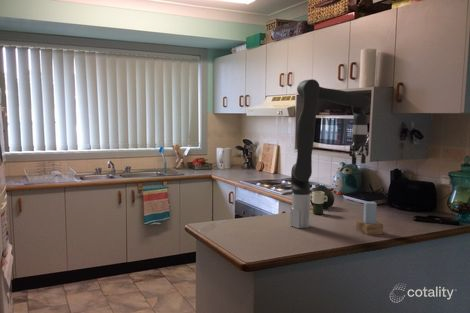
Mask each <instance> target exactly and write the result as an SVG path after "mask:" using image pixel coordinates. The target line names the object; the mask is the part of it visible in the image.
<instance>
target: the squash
mask: <svg viewBox="0 0 470 313" xmlns="http://www.w3.org/2000/svg"><path fill="white" fill-rule="evenodd" d="M314 191H322V192H324V193H325V195H324V196H327V201H324V203H322V205H323V210H328V209H330V208H331V207H332V206H334V204H335V195H334V192H332V190H330V189H329V188H328V187H326V186H325V185H324V184H320V185H318V186H317V187H315V188H314V189H313V190H312V191H311V192H310V194H312V192H314ZM311 198H312V196H311ZM324 200H326V197H324ZM314 204H315V203H313V202H312V200H310V205H311V206H312V207H313V206H314Z"/></svg>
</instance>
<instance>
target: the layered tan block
mask: <svg viewBox="0 0 470 313" xmlns="http://www.w3.org/2000/svg"><path fill="white" fill-rule="evenodd" d="M355 223H356V224H355V230H356V232H359V233H361V234H363V235H366V236H369V235H370V236H371V235H373V236H374V235H381V234H382V235H383V234H384V224H383V223H381V222H378V221H376V224H365V222H364V221H363V220H356V222H355Z"/></svg>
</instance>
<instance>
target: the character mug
mask: <svg viewBox="0 0 470 313" xmlns="http://www.w3.org/2000/svg"><path fill="white" fill-rule="evenodd" d="M311 193H312V194H311ZM311 193H310V200H312V202H313V203H315V204H314V206H312V213H313V214H314V215H322V214H324V208H323V205H322V203H324V201H327V196H324V195H325V193H324V192H322V191H314V192H312V191H311ZM311 196H312V198H311ZM324 197H326V200H324Z"/></svg>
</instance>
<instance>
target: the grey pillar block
mask: <svg viewBox="0 0 470 313" xmlns="http://www.w3.org/2000/svg"><path fill="white" fill-rule="evenodd" d="M377 205H378V204H377V202H376V201H363V216H362V218H363V220H362V221H364V222H365V224H376V222H377V210H378V209H377Z"/></svg>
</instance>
